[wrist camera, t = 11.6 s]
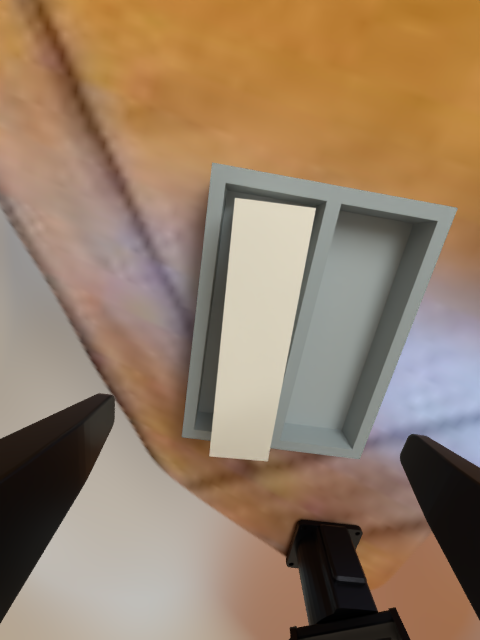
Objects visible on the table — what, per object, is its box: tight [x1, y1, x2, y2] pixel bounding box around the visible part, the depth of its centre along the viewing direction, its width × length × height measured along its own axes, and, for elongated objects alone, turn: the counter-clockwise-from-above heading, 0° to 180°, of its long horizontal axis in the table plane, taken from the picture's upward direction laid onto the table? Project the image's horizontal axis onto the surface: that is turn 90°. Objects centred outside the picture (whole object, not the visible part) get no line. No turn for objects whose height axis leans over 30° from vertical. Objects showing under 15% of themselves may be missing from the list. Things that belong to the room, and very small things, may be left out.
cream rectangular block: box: [209, 198, 316, 461], centre depth 15 cm, size 14×4×5 cm, turn 173°
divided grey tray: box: [182, 163, 457, 459], centre depth 17 cm, size 18×13×3 cm
